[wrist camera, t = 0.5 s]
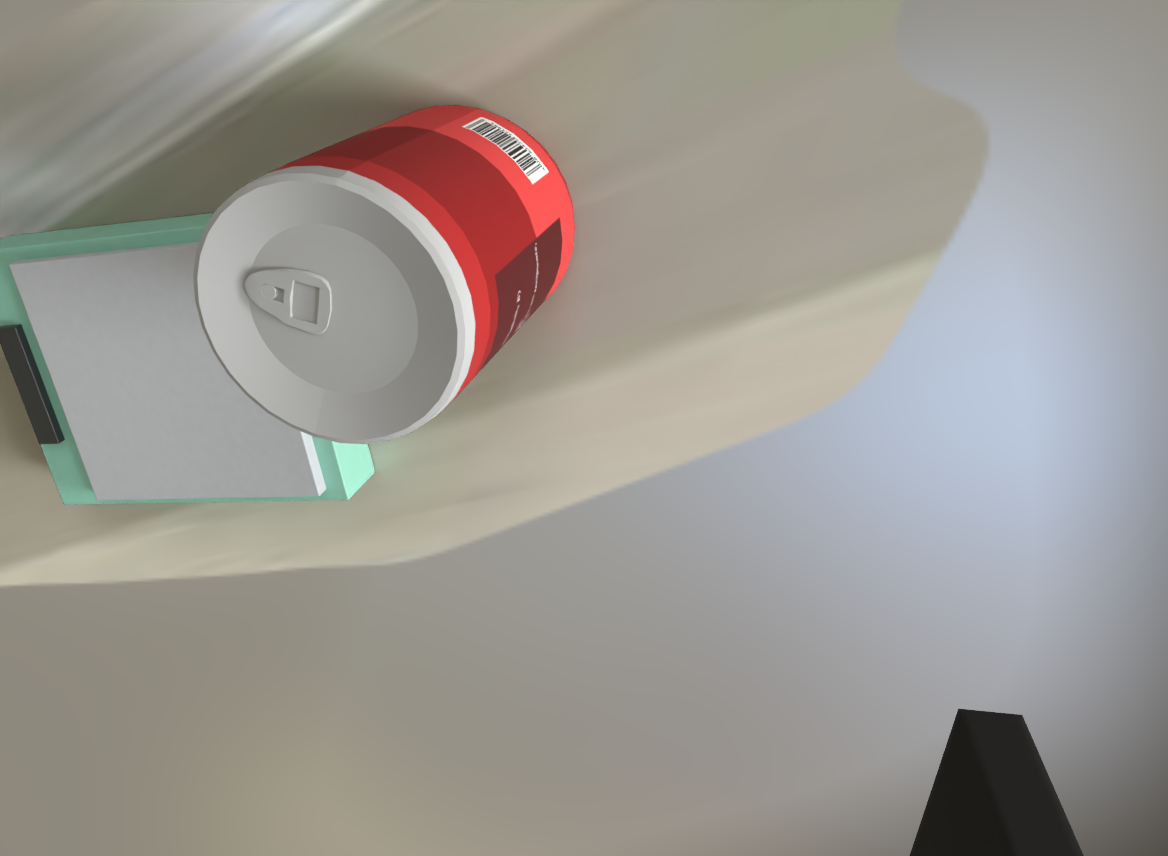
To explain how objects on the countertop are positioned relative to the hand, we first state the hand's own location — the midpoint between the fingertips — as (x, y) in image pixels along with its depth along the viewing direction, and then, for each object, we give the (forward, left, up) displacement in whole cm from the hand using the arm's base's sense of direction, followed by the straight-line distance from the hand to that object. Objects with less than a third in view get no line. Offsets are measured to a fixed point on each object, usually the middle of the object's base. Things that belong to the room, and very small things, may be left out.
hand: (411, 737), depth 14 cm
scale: (+4, -22, -26) cm, 34 cm away
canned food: (-1, -9, -26) cm, 28 cm away
